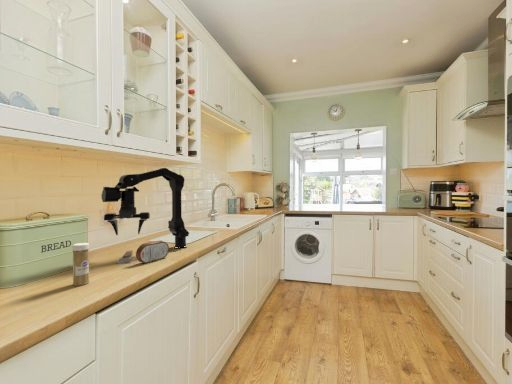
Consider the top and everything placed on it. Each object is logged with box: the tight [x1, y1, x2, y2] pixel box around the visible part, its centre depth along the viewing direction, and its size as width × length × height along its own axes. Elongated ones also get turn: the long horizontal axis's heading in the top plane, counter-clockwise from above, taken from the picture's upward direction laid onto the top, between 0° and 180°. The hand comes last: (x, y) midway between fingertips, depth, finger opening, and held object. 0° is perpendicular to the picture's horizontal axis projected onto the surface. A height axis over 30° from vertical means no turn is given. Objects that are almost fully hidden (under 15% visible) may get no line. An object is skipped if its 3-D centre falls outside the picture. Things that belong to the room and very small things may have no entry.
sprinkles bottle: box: [72, 242, 90, 287], centre depth 84 cm, size 5×5×13 cm
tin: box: [135, 240, 170, 264], centre depth 112 cm, size 15×3×8 cm, turn 146°
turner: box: [116, 250, 133, 265], centre depth 116 cm, size 16×5×2 cm, turn 18°
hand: (128, 234), depth 118 cm, fingers open, 9 cm apart
